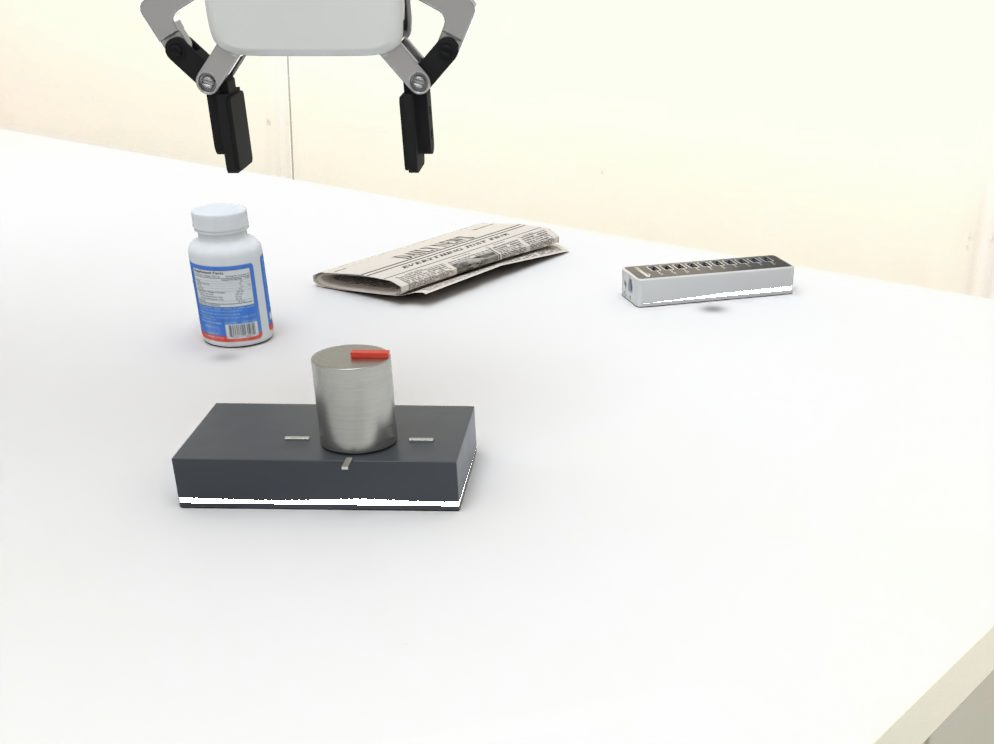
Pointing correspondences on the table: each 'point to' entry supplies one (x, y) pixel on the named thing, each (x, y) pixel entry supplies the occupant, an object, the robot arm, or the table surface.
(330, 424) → the hob knob
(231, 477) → the panel
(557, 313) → the table surface
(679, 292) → the multiport hub
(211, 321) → the pill bottle
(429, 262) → the newspaper
